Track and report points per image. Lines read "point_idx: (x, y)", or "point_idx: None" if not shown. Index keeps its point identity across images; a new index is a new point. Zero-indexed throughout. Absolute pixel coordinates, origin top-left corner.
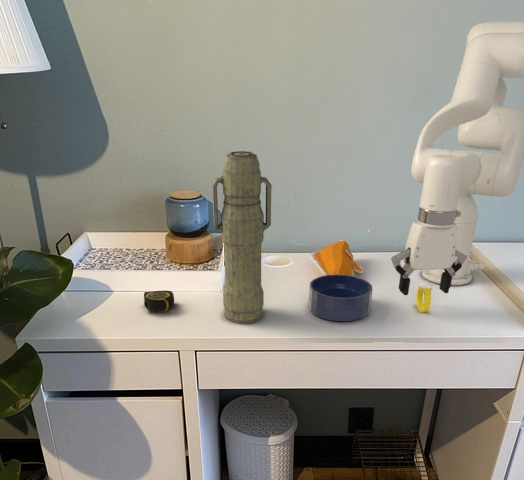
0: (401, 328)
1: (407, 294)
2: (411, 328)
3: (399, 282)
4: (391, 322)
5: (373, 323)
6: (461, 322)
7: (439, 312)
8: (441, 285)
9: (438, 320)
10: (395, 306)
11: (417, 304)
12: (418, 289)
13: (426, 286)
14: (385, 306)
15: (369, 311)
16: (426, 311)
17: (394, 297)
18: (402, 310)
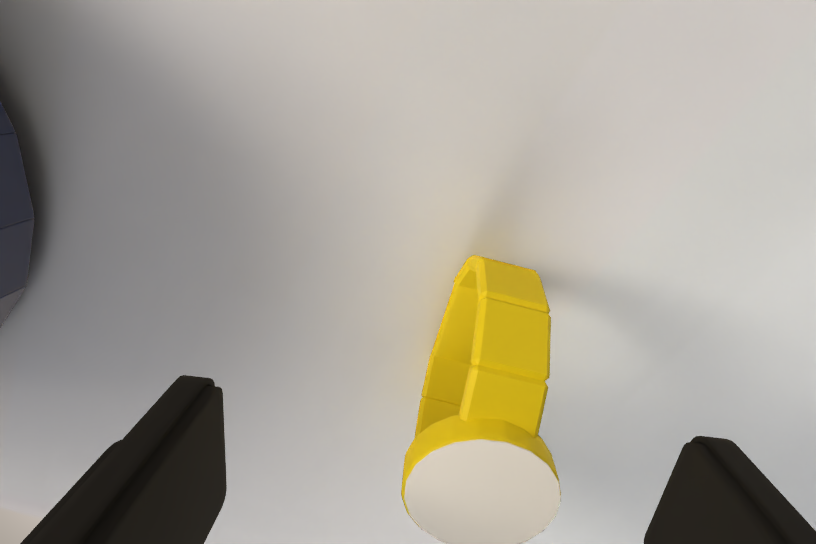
0: None
1: (220, 497)
2: (261, 502)
3: (66, 496)
4: None
5: (49, 397)
6: (591, 529)
7: (561, 394)
8: (705, 511)
9: None
10: (288, 211)
11: (459, 280)
12: (476, 319)
13: (485, 505)
14: (204, 187)
15: (11, 302)
16: (462, 385)
17: (365, 13)
18: (312, 292)
